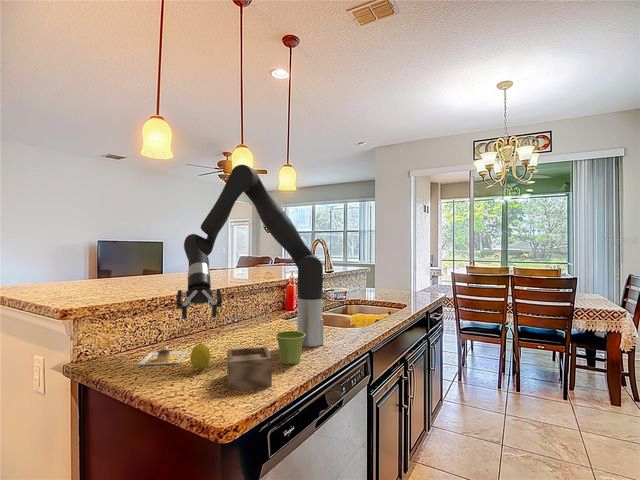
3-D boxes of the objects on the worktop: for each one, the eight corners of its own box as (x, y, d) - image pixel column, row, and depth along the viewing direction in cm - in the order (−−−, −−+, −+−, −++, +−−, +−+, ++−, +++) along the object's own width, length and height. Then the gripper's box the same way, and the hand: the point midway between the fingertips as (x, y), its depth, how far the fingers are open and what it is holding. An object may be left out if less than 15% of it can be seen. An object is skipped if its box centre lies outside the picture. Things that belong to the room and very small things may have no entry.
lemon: (193, 367, 104) (193, 340, 104) (212, 367, 105) (212, 340, 105) (187, 374, 99) (188, 346, 99) (207, 373, 99) (208, 345, 99)
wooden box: (266, 372, 101) (266, 346, 102) (271, 387, 91) (272, 358, 91) (227, 375, 98) (227, 349, 98) (228, 391, 88) (228, 361, 88)
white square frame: (137, 368, 105) (137, 352, 105) (150, 355, 116) (150, 341, 116) (178, 366, 106) (179, 350, 107) (187, 354, 118) (187, 340, 118)
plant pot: (293, 369, 104) (293, 340, 104) (269, 363, 109) (269, 335, 109) (310, 360, 112) (311, 333, 112) (287, 355, 117) (287, 329, 117)
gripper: (177, 271, 117) (175, 312, 106) (220, 271, 122) (223, 309, 111) (177, 285, 122) (175, 325, 111) (219, 284, 127) (221, 322, 116)
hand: (199, 317), depth 111 cm, fingers open, 8 cm apart
